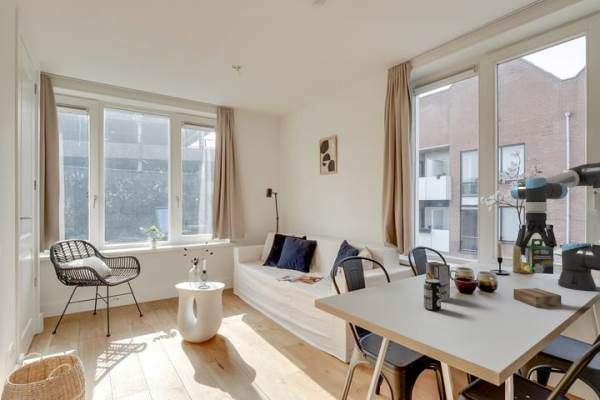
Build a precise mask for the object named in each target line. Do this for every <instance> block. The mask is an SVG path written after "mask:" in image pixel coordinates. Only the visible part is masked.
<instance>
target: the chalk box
mask: <svg viewBox="0 0 600 400" xmlns="http://www.w3.org/2000/svg"><path fill="white" fill-rule="evenodd" d="M536 242H539V243H536ZM543 244H544V242H543V239H542V238H531V243H530V244H527V246H526V248H528V263H524V262H522V255H521V254H520V253H519V260H520V261H519V262H520V263H519V266H520V270H521V271H524V272H528V273H530V274H542V275H543V274H544V275H546V274H547V275H554V249H555V247H554V248H552V247H548V246H546V245H543Z"/></svg>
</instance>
